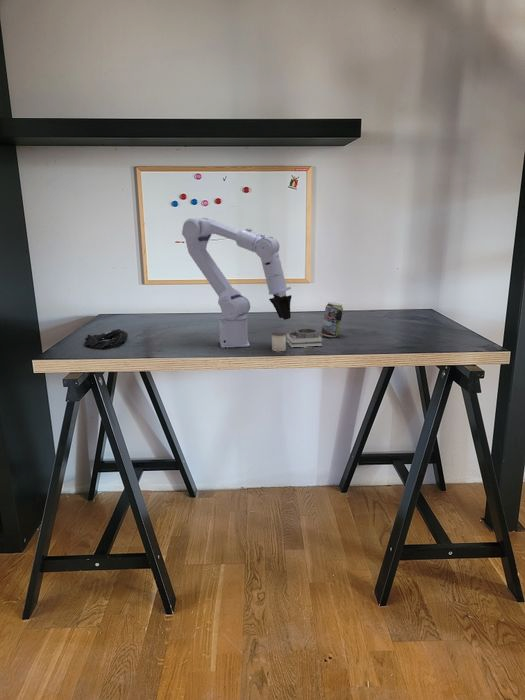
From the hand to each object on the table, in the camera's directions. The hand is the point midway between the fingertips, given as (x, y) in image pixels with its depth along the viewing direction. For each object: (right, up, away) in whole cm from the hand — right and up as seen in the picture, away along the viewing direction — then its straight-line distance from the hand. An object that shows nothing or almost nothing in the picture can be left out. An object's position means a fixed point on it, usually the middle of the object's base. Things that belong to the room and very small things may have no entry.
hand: (285, 318), depth 162 cm
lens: (-2, -10, +2) cm, 10 cm away
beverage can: (+17, -5, +19) cm, 26 cm away
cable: (-61, -8, +14) cm, 63 cm away
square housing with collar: (+7, -8, +9) cm, 14 cm away
